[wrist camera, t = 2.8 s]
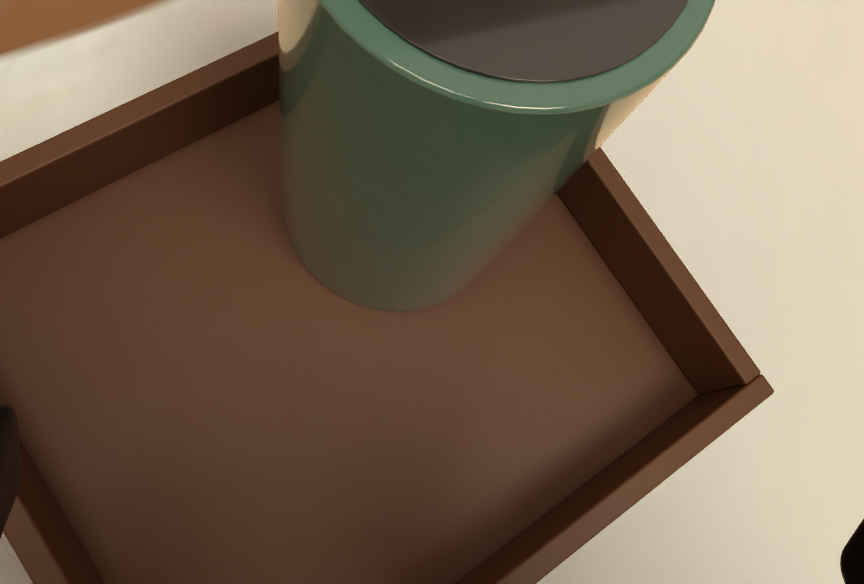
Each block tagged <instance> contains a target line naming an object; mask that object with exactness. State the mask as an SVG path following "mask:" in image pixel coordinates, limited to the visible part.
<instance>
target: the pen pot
mask: <svg viewBox="0 0 864 584" xmlns="http://www.w3.org/2000/svg"><path fill="white" fill-rule="evenodd" d="M714 3H715V0H278V25H279V88H280V151H281V208H282V215H283V222H284V225H285V229H286V232H287V235H288V238H289V240H290V242H291V244H292V247H293V249H294V251H295V252H296V254H297V255H298V257H299V259H300V260H301V262H302V263H303V264H304V266H305V267H306V268H307V269H308V270H309V272H310V273H311V274H312V275H313V276H314V277H315V278H316V279H317V280H318V281H320V282H321V283H322V284H323V285H324V286H326V287H327V288H328V289H330V290H331V291H333V292H334V293H336V294H337V295H339V296H341V297H343V298H345V299H347V300H349V301H351V302H354V303H356V304H359V305H361V306H365V307H369V308H373V309H377V310H385V311H412V310H419V309H424V308H428V307H431V306H435V305H437V304H440V303H442V302H444V301H447V300H449V299H451V298H452V297H454V296H456V295H457V294H459V293H461V292H462V291H463V290H465V289H466V288H467V287H468V286H469V285H471V284H472V283H473V282H474V281H475V280H476V279H477V278H478V277H479V275H480V274H481V273H482V272H483V271H484V270H485V269H486V268H487V267H488V266H489V265H490V264H491V263H492V261H493V260H494V259H495V258H496V257H497V256H498V255H499V254H500V253H501V252H502V251H503V250H504V249H505V248H506V246H507V245H508V244H509V243H510V242H511V241H512V240H513V239H514V238H515V237H516V236H517V235H518V234H519V233H520V231H521V230H522V229H523V228H524V227H525V226H526V225H527V224H528V223H529V222H530V221H531V220H532V219H533V217H534V216H535V215H536V214H537V213H538V212H539V211H540V210H541V209H542V208H543V207H544V206H545V205H546V204H547V202H548V201H549V200H550V199H551V198H552V197H553V196H554V195H555V194H556V193H557V192H558V191H559V190H560V188H561V187H562V186H563V185H564V184H565V183H566V182H567V181H568V180H569V179H570V178H571V177H572V176H573V175H574V173H575V172H576V171H577V170H578V169H579V168H580V167H581V166H582V165H583V164H584V163H585V162H586V161H587V159H588V158H589V157H590V156H591V155H592V154H593V153H594V152H595V151H596V150H597V149H598V148H599V147H600V146H601V144H602V143H603V142H604V141H605V140H606V139H607V138H608V137H609V136H610V135H611V134H612V133H613V132H614V131H615V129H616V128H617V127H618V126H619V125H620V124H621V123H622V122H623V121H624V120H625V119H626V118H627V117H628V115H629V114H630V113H631V112H632V111H633V110H634V109H635V108H636V107H637V106H638V105H639V104H640V103H641V102H642V100H643V99H644V98H645V97H646V96H647V95H648V94H649V93H650V92H651V91H652V90H653V89H654V88H655V86H656V85H657V84H658V83H659V82H660V81H661V80H662V79H663V78H664V77H665V76H666V75H667V74H668V73H669V71H670V70H671V69H672V68H673V67H674V66H675V65H676V64H677V63H678V62H679V61H680V60H681V59H682V58H683V56H684V55H685V54H686V53H687V52H688V51H689V50H690V49H691V47H692V46H693V44H694V43H695V41H696V40H697V38H698V37H699V35H700V34H701V32H702V31H703V29H704V27H705V24H706V22H707V20H708V18H709V16H710V13H711V11H712V9H713V6H714Z"/></svg>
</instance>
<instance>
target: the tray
mask: <svg viewBox="0 0 864 584" xmlns="http://www.w3.org/2000/svg"><path fill="white" fill-rule="evenodd" d="M759 374H760V370H759V369H758V368H757V366H756V365H755V363H754V362H753V361H752V359H751V358H750V356H749V355H748V354H747V352H746V351H745V349H744V348H743V347H742V345H741V344H740V342H739V341H738V340H737V338H736V337H735V335H734V334H733V333H732V331H731V330H730V328H729V327H728V326H727V324H726V323H725V321H724V320H723V319H722V317H721V316H720V314H719V313H718V312H717V310H716V309H715V307H714V306H713V304H712V303H711V302H710V300H709V299H708V297H707V296H706V295H705V293H704V292H703V290H702V289H701V288H700V286H699V285H698V283H697V282H696V281H695V279H694V278H693V276H692V275H691V274H690V272H689V271H688V269H687V268H686V267H685V265H684V264H683V262H682V261H681V260H680V258H679V257H678V255H677V254H676V253H675V251H674V250H673V248H672V247H671V246H670V244H669V243H668V241H667V240H666V239H665V237H664V236H663V234H662V233H661V232H660V230H659V229H658V227H657V226H656V225H655V223H654V222H653V220H652V219H651V218H650V216H649V215H648V213H647V212H646V211H645V209H644V208H643V206H642V205H641V204H640V202H639V201H638V199H637V198H636V197H635V195H634V194H633V192H632V191H631V190H630V188H629V187H628V185H627V184H626V183H625V181H624V180H623V178H622V177H621V176H620V174H619V173H618V171H617V170H616V169H615V167H614V166H613V164H612V163H611V162H610V160H609V159H608V157H607V156H606V155H605V153H604V152H603V150H602V149H601V148H600V147H599V148H598V149H597V150H596V151H595V152H594V153H593V154H592V155H591V156H590V157H589V158H588V159H587V161H586V162H585V163H584V164H583V165H582V166H581V167H580V168H579V169H578V170H577V171H576V172H575V173H574V175H573V176H572V177H571V178H570V179H569V180H568V181H567V182H566V183H565V184H564V185H563V186H562V187H561V188H560V190H559V191H558V192H557V193H556V194H555V195H554V196H553V197H552V198H551V199H550V200H549V201H548V202H547V204H546V205H545V206H544V207H543V208H542V209H541V210H540V211H539V212H538V213H537V214H536V215H535V216H534V217H533V219H532V220H531V221H530V222H529V223H528V224H527V225H526V226H525V227H524V228H523V229H522V230H521V231H520V233H519V234H518V235H517V236H516V237H515V238H514V239H513V240H512V241H511V242H510V243H509V244H508V245H507V246H506V248H505V249H504V250H503V251H502V252H501V253H500V254H499V255H498V256H497V257H496V258H495V259H494V260H493V261H492V263H491V264H490V265H489V266H488V267H487V268H486V269H485V270H484V271H483V272H482V273H481V274H480V275H479V277H478V278H477V279H476V280H475V281H474V282H473V283H472V284H471V285H469V286H468V287H467V288H466V289H465V290H463V291H462V292H461V293H459V294H457V295H456V296H454V297H452V298H451V299H449V300H447V301H444V302H442V303H440V304H437V305H435V306H431V307H428V308H424V309H419V310H412V311H385V310H377V309H373V308H369V307H365V306H361V305H359V304H356V303H354V302H351V301H349V300H347V299H345V298H343V297H341V296H339V295H337V294H336V293H334V292H333V291H331V290H330V289H328V288H327V287H326V286H324V285H323V284H322V283H321V282H320V281H318V280H317V279H316V278H315V277H314V276H313V275H312V274H311V273H310V272H309V270H308V269H307V268H306V267H305V266H304V264H303V263H302V262H301V260H300V259H299V257H298V255H297V254H296V252H295V251H294V249H293V247H292V244H291V242H290V240H289V238H288V235H287V232H286V229H285V225H284V222H283V215H282V208H281V151H280V88H279V32H276V33H274V34H272V35H270V36H268V37H266V38H264V39H262V40H259V41H257V42H255V43H253V44H251V45H249V46H247V47H244V48H242V49H240V50H238V51H236V52H234V53H232V54H230V55H227V56H225V57H223V58H221V59H219V60H217V61H215V62H212V63H210V64H208V65H206V66H204V67H202V68H200V69H197V70H195V71H193V72H191V73H189V74H187V75H185V76H183V77H180V78H178V79H176V80H174V81H172V82H170V83H168V84H165V85H163V86H161V87H159V88H157V89H155V90H153V91H151V92H148V93H146V94H144V95H142V96H140V97H138V98H136V99H133V100H131V101H129V102H127V103H125V104H123V105H121V106H119V107H116V108H114V109H112V110H110V111H108V112H106V113H104V114H101V115H99V116H97V117H95V118H93V119H91V120H89V121H87V122H84V123H82V124H80V125H78V126H76V127H74V128H72V129H69V130H67V131H65V132H63V133H61V134H59V135H57V136H55V137H52V138H50V139H48V140H46V141H44V142H42V143H40V144H37V145H35V146H33V147H31V148H29V149H27V150H25V151H23V152H20V153H18V154H16V155H14V156H12V157H10V158H8V159H5V160H3V161H1V162H0V403H4V404H8V405H10V406H11V407H12V408H13V409H14V411H15V413H16V416H17V424H18V435H19V446H20V457H21V470H22V472H21V481H20V486H19V490H18V493H17V496H16V499H15V502H14V504H13V507H12V509H11V512H10V514H9V517H8V520H7V522H6V525H5V527H4V530H3V532H4V533H5V535H6V537H7V539H8V540H9V542H10V544H11V546H12V547H13V549H14V551H15V552H16V554H17V556H18V558H19V559H20V561H21V563H22V565H23V566H24V568H25V570H26V572H27V573H28V575H29V577H30V579H31V580H32V582H33V584H536V583H537V582H538V581H539V580H541V579H542V578H543V577H544V576H546V575H547V574H548V573H549V572H551V571H552V570H553V569H554V568H556V567H557V566H558V565H559V564H561V563H562V562H563V561H564V560H566V559H567V558H568V557H569V556H571V555H572V554H573V553H574V552H576V551H577V550H578V549H579V548H581V547H582V546H583V545H584V544H586V543H587V542H588V541H589V540H591V539H592V538H593V537H594V536H596V535H597V534H598V533H599V532H601V531H602V530H603V529H604V528H605V527H607V526H608V525H609V524H610V523H612V522H613V521H614V520H615V519H617V518H618V517H619V516H620V515H622V514H623V513H624V512H625V511H627V510H628V509H629V508H630V507H632V506H633V505H634V504H635V503H637V502H638V501H639V500H640V499H642V498H643V497H644V496H645V495H647V494H648V493H649V492H650V491H652V490H653V489H654V488H655V487H657V486H658V485H659V484H660V483H662V482H663V481H664V480H665V479H667V478H668V477H669V476H670V475H672V474H673V473H674V472H675V471H677V470H678V469H679V468H680V467H682V466H683V465H684V464H685V463H687V462H688V461H689V460H690V459H692V458H693V457H694V456H695V455H697V454H698V453H699V452H700V451H702V450H703V449H704V448H705V447H707V446H708V445H709V444H710V443H712V442H713V441H714V440H715V439H717V438H718V437H719V436H720V435H722V434H723V433H724V432H725V431H727V430H728V429H729V428H730V427H732V426H733V425H734V424H735V423H737V422H738V421H739V420H740V419H742V418H743V417H744V416H745V415H747V414H748V413H749V412H750V411H752V410H753V409H754V408H755V407H757V406H758V405H759V404H760V403H762V402H763V401H764V400H765V399H767V398H768V397H769V396H770V395H772V394H773V392H774V390H773V389H772V387H771V386H770V384H769V383H768V382H767V380H766V379H765V377H764V376H763V375H759Z"/></svg>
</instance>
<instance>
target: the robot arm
mask: <svg viewBox="0 0 864 584" xmlns="http://www.w3.org/2000/svg"><path fill="white" fill-rule="evenodd" d="M21 472H22V470H21V457H20V446H19V435H18V424H17V416H16V413H15V411H14V409H13V408H12V407H11V406H10V405H8V404H4V403H0V538H1V535H2V532H3V530H4V527H5V525H6V522H7V520H8V517H9V514H10V512H11V509H12V507H13V504H14V502H15V499H16V496H17V493H18V490H19V486H20V481H21ZM840 566H841V572H842V576H843V579H844V582H845V584H864V519H863V521H862V522H861V523H860V525H859V526H858V528H857V529H856V531H855V532H854V534H853V535H852V537H851V538H850V540H849V541H848V543H847V544H846V546H845V547H844V549H843V551H842V554H841V560H840Z"/></svg>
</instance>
